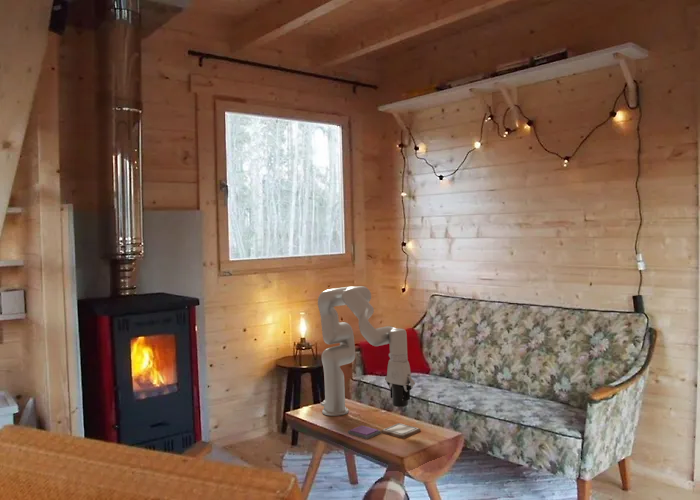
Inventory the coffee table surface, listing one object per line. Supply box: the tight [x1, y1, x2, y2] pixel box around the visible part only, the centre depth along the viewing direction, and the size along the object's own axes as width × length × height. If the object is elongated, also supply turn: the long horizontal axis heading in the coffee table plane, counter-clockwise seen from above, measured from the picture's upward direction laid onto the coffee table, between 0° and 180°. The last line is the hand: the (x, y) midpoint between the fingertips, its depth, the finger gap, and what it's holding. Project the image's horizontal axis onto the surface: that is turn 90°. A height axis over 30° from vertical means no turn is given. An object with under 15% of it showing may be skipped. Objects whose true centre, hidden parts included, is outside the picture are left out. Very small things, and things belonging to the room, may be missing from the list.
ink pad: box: [347, 425, 382, 440], centre depth 269 cm, size 11×9×2 cm
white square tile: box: [380, 422, 421, 439], centre depth 270 cm, size 12×12×1 cm
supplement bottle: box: [391, 384, 409, 408], centre depth 269 cm, size 7×7×12 cm
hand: (400, 398), depth 269 cm, fingers closed on supplement bottle, 6 cm apart
